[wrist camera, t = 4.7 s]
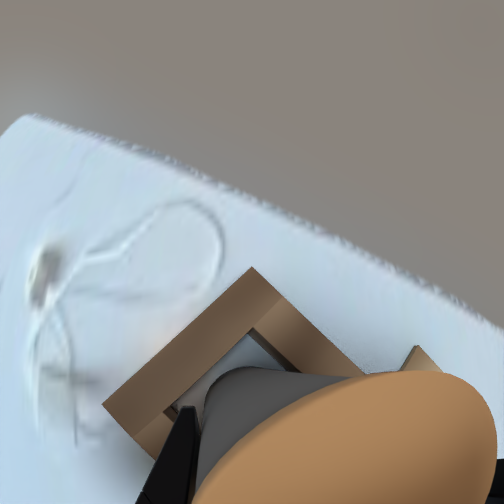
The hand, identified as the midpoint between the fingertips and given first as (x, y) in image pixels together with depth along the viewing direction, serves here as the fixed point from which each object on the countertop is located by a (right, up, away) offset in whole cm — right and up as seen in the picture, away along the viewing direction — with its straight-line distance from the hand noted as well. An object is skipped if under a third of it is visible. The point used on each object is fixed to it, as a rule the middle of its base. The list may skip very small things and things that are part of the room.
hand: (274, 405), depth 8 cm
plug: (-1, -4, +6) cm, 8 cm away
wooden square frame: (-1, -4, +7) cm, 8 cm away
